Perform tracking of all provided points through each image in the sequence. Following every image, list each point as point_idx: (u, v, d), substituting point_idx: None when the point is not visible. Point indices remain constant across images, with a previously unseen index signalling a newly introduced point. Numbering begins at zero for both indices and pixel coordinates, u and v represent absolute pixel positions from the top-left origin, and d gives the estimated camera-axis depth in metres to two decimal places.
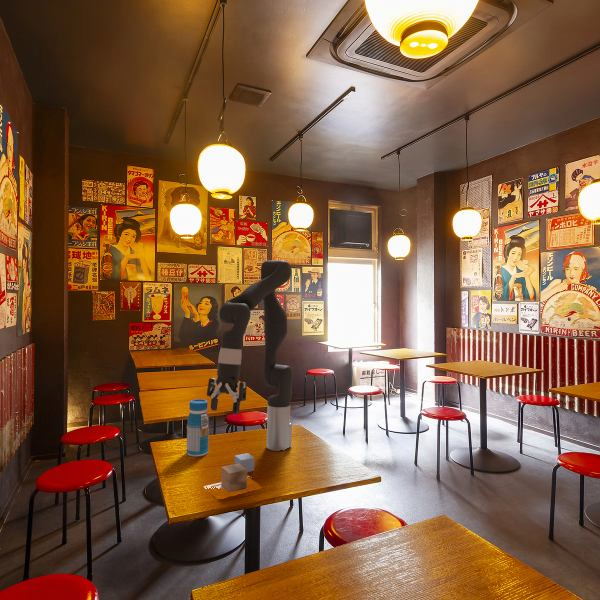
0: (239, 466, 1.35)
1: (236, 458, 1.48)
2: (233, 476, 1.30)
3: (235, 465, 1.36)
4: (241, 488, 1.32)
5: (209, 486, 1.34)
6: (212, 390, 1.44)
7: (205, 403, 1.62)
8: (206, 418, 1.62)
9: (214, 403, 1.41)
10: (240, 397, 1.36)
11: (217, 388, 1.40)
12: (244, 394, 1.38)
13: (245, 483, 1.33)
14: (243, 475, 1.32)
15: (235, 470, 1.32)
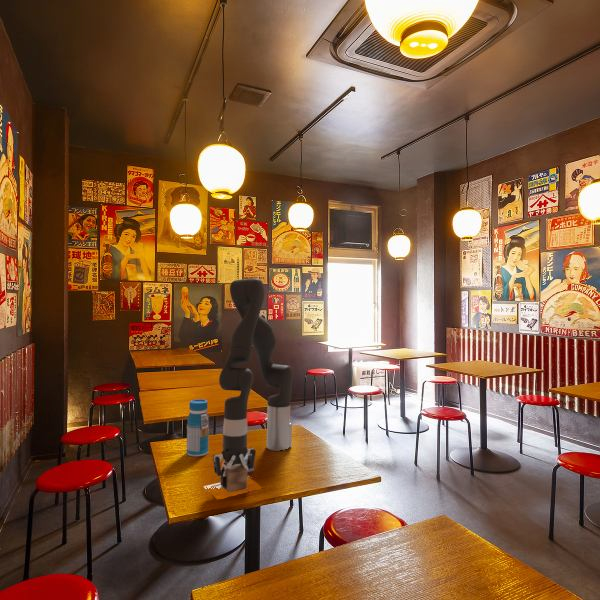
0: (239, 466, 1.35)
1: None
2: (233, 476, 1.30)
3: (235, 465, 1.36)
4: (241, 488, 1.32)
5: (209, 486, 1.34)
6: None
7: (205, 403, 1.62)
8: (206, 418, 1.62)
9: None
10: (252, 464, 1.36)
11: (230, 463, 1.31)
12: None
13: (245, 483, 1.33)
14: (243, 475, 1.32)
15: (235, 470, 1.32)
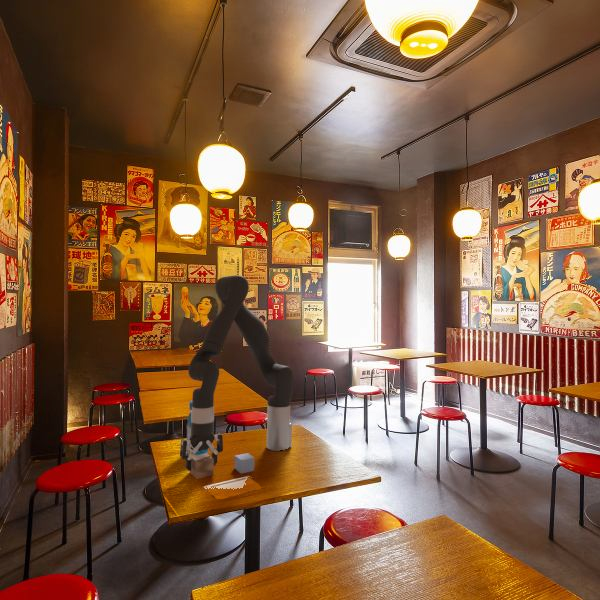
0: (207, 456, 1.45)
1: (236, 458, 1.48)
2: (200, 464, 1.40)
3: (203, 454, 1.46)
4: (207, 475, 1.42)
5: (209, 486, 1.34)
6: None
7: None
8: None
9: None
10: (221, 448, 1.46)
11: (196, 448, 1.41)
12: None
13: (212, 471, 1.42)
14: (210, 463, 1.42)
15: (202, 459, 1.42)
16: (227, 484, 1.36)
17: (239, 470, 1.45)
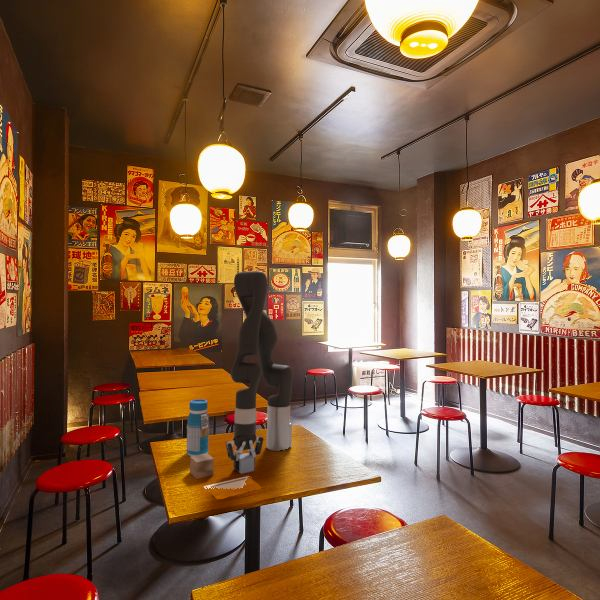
0: (207, 456, 1.45)
1: None
2: (200, 464, 1.40)
3: (203, 454, 1.46)
4: (207, 475, 1.42)
5: (209, 486, 1.34)
6: None
7: (205, 403, 1.62)
8: (206, 418, 1.62)
9: None
10: (259, 451, 1.50)
11: (241, 448, 1.45)
12: None
13: (211, 471, 1.42)
14: (210, 463, 1.42)
15: (202, 459, 1.42)
16: (227, 484, 1.36)
17: (239, 470, 1.45)
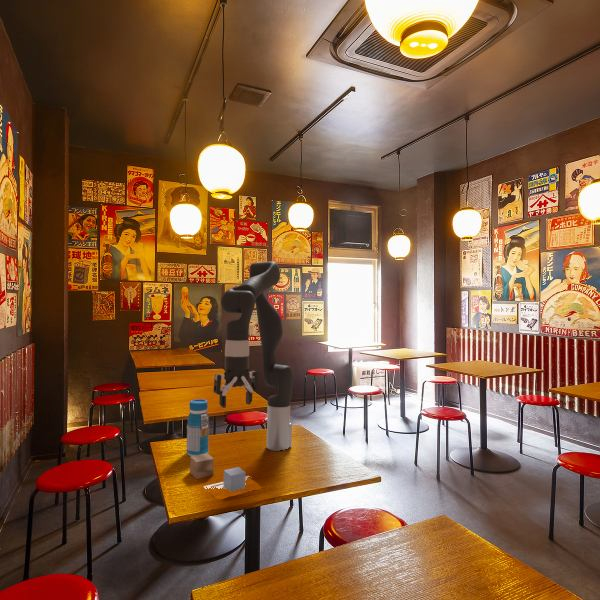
0: (207, 456, 1.45)
1: (225, 473, 1.33)
2: (200, 464, 1.40)
3: (203, 454, 1.46)
4: (207, 475, 1.42)
5: (209, 486, 1.34)
6: None
7: (205, 403, 1.62)
8: (206, 418, 1.62)
9: None
10: (256, 386, 1.36)
11: (231, 383, 1.31)
12: (254, 382, 1.38)
13: (211, 471, 1.42)
14: (210, 463, 1.42)
15: (202, 459, 1.42)
16: None
17: (229, 487, 1.31)
